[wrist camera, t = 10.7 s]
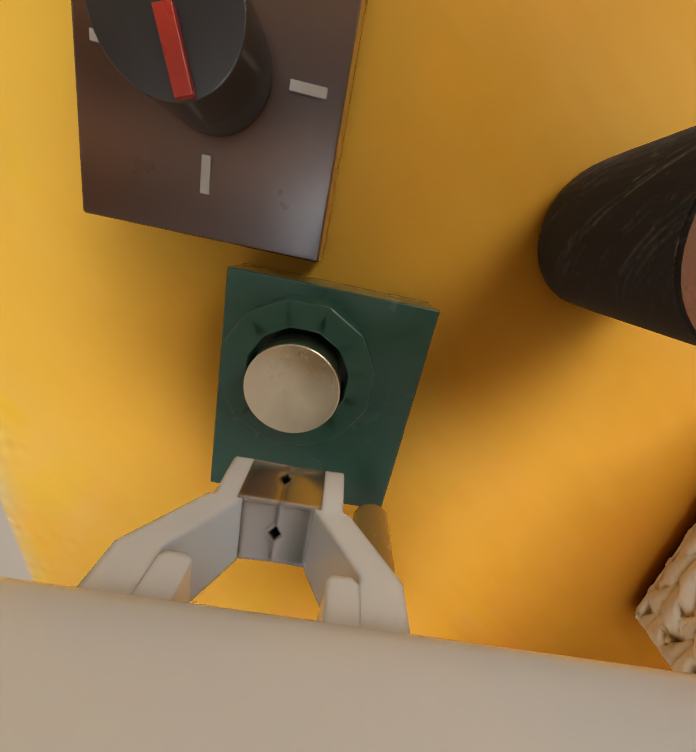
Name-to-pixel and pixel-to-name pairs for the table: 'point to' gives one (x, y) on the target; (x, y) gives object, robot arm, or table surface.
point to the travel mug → (629, 238)
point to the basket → (674, 608)
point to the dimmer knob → (190, 57)
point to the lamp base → (357, 365)
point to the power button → (293, 383)
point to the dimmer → (227, 138)
